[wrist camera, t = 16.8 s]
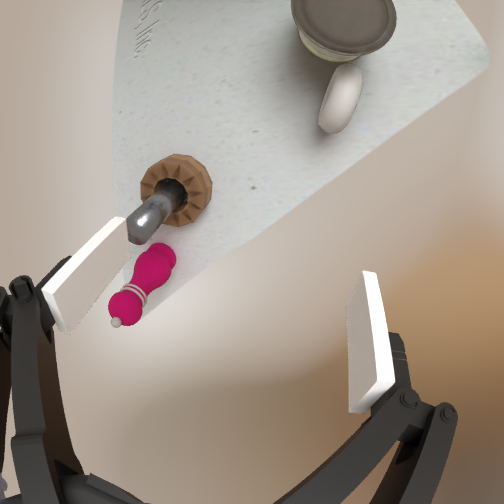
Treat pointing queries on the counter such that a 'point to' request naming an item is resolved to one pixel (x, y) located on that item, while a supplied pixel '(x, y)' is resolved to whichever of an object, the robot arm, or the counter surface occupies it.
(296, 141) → the counter surface
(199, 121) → the counter surface
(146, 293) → the pepper mill
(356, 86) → the donut
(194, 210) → the bead
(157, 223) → the metal cylinder peg
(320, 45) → the coffee can
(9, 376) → the robot arm
